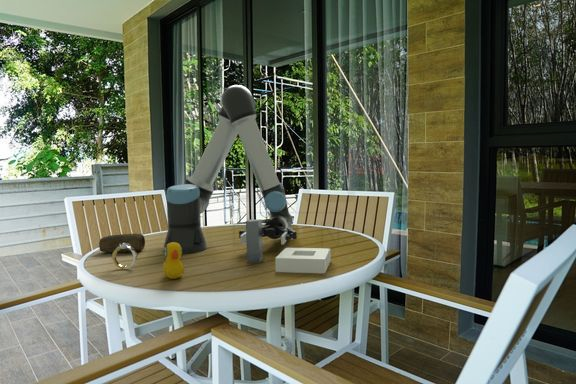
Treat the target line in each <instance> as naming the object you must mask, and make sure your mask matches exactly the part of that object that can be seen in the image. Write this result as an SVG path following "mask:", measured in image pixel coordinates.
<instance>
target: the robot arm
mask: <svg viewBox="0 0 576 384" xmlns="http://www.w3.org/2000/svg"><path fill="white" fill-rule="evenodd" d="M256 105H257V104H256V100H255V97H254V96H253V95H252V93H251V91H250V90H249V89H248V88H247V87H246V86H243V85H241V84H239V85H238V84H234V85H231V86H229V87H227V88H226V89H225V90H224V92H223V94H222V96H221V108H220V109H219V112H218V114H217V118H218V123H217V125H216V127H215V128H214V132H213V133H212V135H211V137H210V140H209V141H208V143H207V145H206V148H205V149H204V151H203V154H202V156H201V158H200V159H199V162H198V164H197V165H196V168H195V169H194V172H193V174H192V175H191V176H188V177H186V179H185V181H184V183H183V184H177V185H172V186H169V187H168V188H167V189H166V195H165V199H166V214H167V232H166V235H165V239H164V242H163V243H164V244H163V252H164V251H165V247H166V245H167V244H169V243H172V242H176V243H178V244H180V246H181V248H182V254H190V253H198V252H202V251H204V250H206V249H207V247H208V246H207V240H206V237H205V235H204V232H203V230H202V222H201V220H202V219H201V214H203V213H204V212H205V211H206V210H207V208H208V207H209V203H210V199H211V197H212V195H213V193H214V191H215V189H214V187H213V184H214V182H215V181H216V179H217V176H218V175H219V173H220V171H221V169H222V167H223V165H224V162H225V160H226V158H227V156H228V154H229V152H230V151H231V148H232V146H233V145H234V142H235V140H236V138H237V137H238V136H239V139H240V142H241V145H242V147H243V150H244V152H245V154H246V157H247V159H248V162H249V164H250V167H251V170H252V172H253V175H254V178H255V179H256V180H255V181H256V183H257V185H258V187H259V190H260V192H261V193H260V194H261V195H262V199H263V200H264V205H265V208H266V209H267V210H268V211H269V215H270V219H268V220H267V221H266V222H265V224H264V225H263V226H262V238H263V237H267V238H270V239H272V240H277V239H280V244H281V245H283V246H284V245H285V243H286V242H287V241H290V240H297V238H298V235H297V231H296V230H294V229H293V228H292V224H293V216H292V214H291V213H290V210H289V207H288V202H287V196H286V192H285V188H284V185H283V183H282V182H280V180H279V178H278V176H277V173H276V171H275V170H276V169H275V168H274V164H273V162H272V160H271V157H270V154H269V152H268V150H267V146H266V145H265V142H264V138H263V136H262V134H261V131H260V129H259V126H258V123H257V121H256V118H257V112H256V107H257V106H256ZM238 236H239V237H238V238H239V239H240V244H241V245H242V244H243V245H244V244H246V228H245V229H241V230H239V232H238Z"/></svg>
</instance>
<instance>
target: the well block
mask: <svg viewBox="0 0 576 384" xmlns="http://www.w3.org/2000/svg"><path fill="white" fill-rule="evenodd" d="M274 262H275V273H298V274H299V273H301V274H326V272H327V269H328V268H329V265H330V264H331V248H324V247H323V248H319V247H316V248H315V247H314V248H313V247H312V248H311V247H285V248H284V249H283V250H282V251H281V252H280V253H279V254H278V255H277V256H275V261H274ZM329 263H330V264H329Z"/></svg>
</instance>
